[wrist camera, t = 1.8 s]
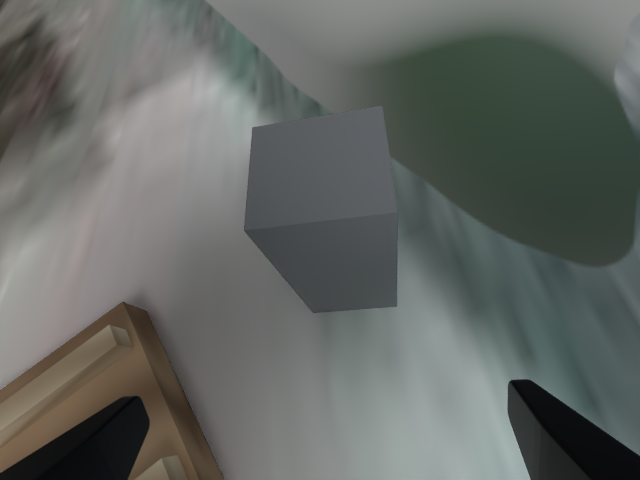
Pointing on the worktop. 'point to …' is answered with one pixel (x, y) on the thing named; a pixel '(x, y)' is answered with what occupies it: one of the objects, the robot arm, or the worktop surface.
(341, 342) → the worktop surface
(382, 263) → the tall grey pillar block
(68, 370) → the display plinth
